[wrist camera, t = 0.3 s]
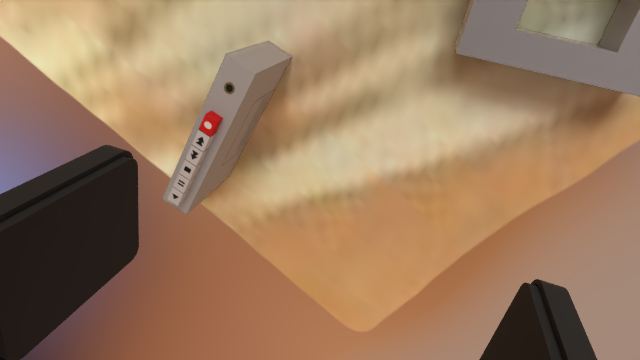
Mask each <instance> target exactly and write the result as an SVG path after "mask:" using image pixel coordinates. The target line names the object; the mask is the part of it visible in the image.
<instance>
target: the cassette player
mask: <svg viewBox="0 0 640 360" xmlns="http://www.w3.org/2000/svg"><path fill="white" fill-rule="evenodd" d="M291 58H292V56H291V55H289V54H288V53H286V52H285V51H283V50H282V49H280V48H279V47H277V46H276V45H274V44H273V43H271V42H270V41H266V42H262V43H259V44H256V45H253V46H250V47H246V48H243V49H240V50H237V51H234V52H231V53H227V54H226V55H225V57H224V60H223V62H222V64H221V66H220V69H219V71H218V73H217V75H216V78H215V80H214V82H213V85H212V87H211V89H210V91H209V94H208V96H207V98H206V100H205V103H204V105H203V107H202V110H201V112H200V114H199V116H198V119H197V121H196V123H195V126H194V128H193V130H192V132H191V135H190V137H189V139H188V141H187V144H186V146H185V148H184V151H183V153H182V155H181V157H180V160H179V162H178V164H177V166H176V169H175V171H174V173H173V176H172V178H171V180H170V183H169V185H168V187H167V189H166V192H165V194H164V196H163V200H165V201H166V202H168V203H169V204H171V205H172V206H174V207H176V208H177V209H179V210H180V211H182V212H183V213H185V214H188V213H189V212H190V211H191V210H192V209H193V208H194V207H195V206H196V205H198V204H199V203H200V202H201V201H202V200H203V199H204V198H205V197H206V196H208V195H209V194H210V193H211V192H212V191H213V190H214V189H215V188H216V187H218V186H219V185H220V184H221V183H222V182H223V181H224V180H225V179H226V178H227V177H229V175H230V173H231V171H232V169H233V167H234V165H235V163H236V162H237V160H238V158H239V156H240V154H241V152H242V150H243V148H244V146H245V145H246V143H247V141H248V139H249V137H250V135H251V133H252V131H253V129H254V128H255V126H256V124H257V122H258V120H259V118H260V116H261V114H262V113H263V111H264V109H265V107H266V105H267V103H268V101H269V99H270V97H271V96H272V94H273V92H274V90H275V88H276V86H277V84H278V82H279V80H280V79H281V77H282V75H283V73H284V71H285V69H286V67H287V65H288V64H289V62H290V60H291Z"/></svg>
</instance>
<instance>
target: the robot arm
mask: <svg viewBox="0 0 640 360" xmlns="http://www.w3.org/2000/svg"><path fill="white" fill-rule="evenodd" d="M138 235H139V234H138V165H137V162H136V160H134V159H133V156H132V154H131V153H130V152H129V151H126V150H123V149H119V148H116V147H113V146H110V145H104V146H101V147H99V148H97V149H95V150H93V151H91V152H89V153H87V154H85V155H82V156H80V157H78V158H76V159H74V160H72V161H70V162H68V163H66V164H63V165H61V166H59V167H57V168H55V169H53V170H51V171H49V172H47V173H44V174H43V175H40V176H38V177H36V178H34V179H32V180H30V181H28V182H25V183H23V184H21V185H19V186H17V187H15V188H13V189H11V190H9V191H6V192H4V193H2V194H0V360H20V359H21V358H23V357H24V356H25V355H26V354H27V353H29V352H30V351H31V350H32V349H33V348H34V347H35V346H36V345H38V344H39V343H40V342H41V341H42V340H43V339H44V338H45V337H47V336H48V335H49V334H50V333H51V332H52V331H53V330H54V329H56V328H57V327H58V325H60V324H61V323H62V322H63V321H64V320H66V318H68V317H69V316H70V315H71V314H72V313H73V312H75V311H76V310H77V309H78V308H79V307H80V306H81V305H82V304H83V303H84V302H86V301H87V300H88V299H89V298H90V297H91V296H92V295H94V294H95V293H96V292H97V291H98V290H99V289H100V288H101V287H103V286H104V285H105V284H106V283H107V282H108V281H109V280H110V279H111V278H113V277H114V276H115V275H116V274H117V273H118V272H119V271H120V270H121V269H122V268H124V267H125V266H126V265H127V264H128V263H129V262H131V261H132V260H133V258H134V257H135V255H136V253H137V251H138V247H139V236H138ZM480 360H597V358H596V356H595V353H594V351H593V349H592V346H591V344H590V342H589V340H588V337H587V335H586V332H585V330H584V328H583V325H582V323H581V321H580V318H579V316H578V314H577V311H576V309H575V307H574V304H573V302H572V300H571V297H570V295H569V293H568V291H567V289H566V288H564V287H561V286H558V285H554V284H551V283H548V282H545V281H542V280H538V279H537V280H534V281H533V282H532V283H531V284H529V283H524V284H522V286H521V287H520V289H519V291H518V292H517V294H516V296H515V297H514V299H513V301H512V303H511V305H510V306H509V308H508V310H507V312H506V313H505V315H504V317H503V319H502V321H501V322H500V324H499V326H498V328H497V330H496V331H495V333H494V335H493V337H492V339H491V340H490V342H489V344H488V346H487V347H486V349H485V351H484V353H483V355H482V356H481V358H480Z"/></svg>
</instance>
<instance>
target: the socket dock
mask: <svg viewBox="0 0 640 360" xmlns="http://www.w3.org/2000/svg"><path fill="white" fill-rule="evenodd" d="M527 1H528V0H470V2H469V5H468V8H467V11H466V14H465V17H464V20H463V23H462V26H461V29H460V32H459V35H458V38H457V41H456V45H455V50H456V53H457V54H460V55H465V56H469V57H473V58H477V59H482V60H486V61H490V62H495V63H499V64H503V65H507V66H512V67H516V68H520V69H525V70H529V71H533V72H537V73H542V74H546V75H550V76H554V77H559V78H563V79H567V80H572V81H576V82H580V83H584V84H589V85H593V86H597V87H601V88H606V89H610V90H614V91H619V92H623V93H627V94H631V95H636V96H640V0H620V1H619V3H618V5H617V7H616V9H615V11H614V13H613V15H612V17H611V19H610V22H609V24H608V26H607V28H606V30H605V32H604V34H603V36H602V38H601V40H600V42H599V44H598V45H593V44H589V43H584V42H580V41H575V40H571V39H566V38H561V37H557V36H552V35H548V34H543V33H539V32H534V31H530V30H525V29H521V28H517V26H518V24H519V21H520V19H521V16H522V13H523V11H524V8H525V6H526V3H527Z"/></svg>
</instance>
